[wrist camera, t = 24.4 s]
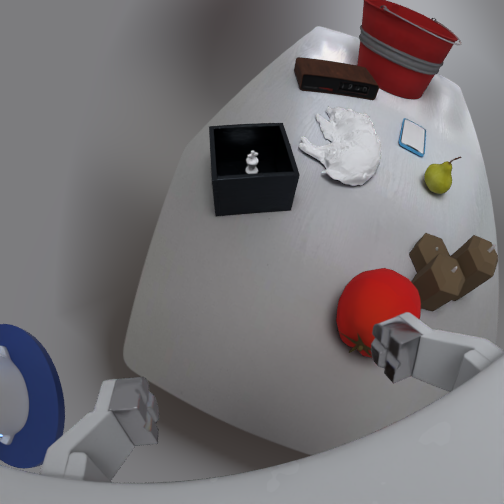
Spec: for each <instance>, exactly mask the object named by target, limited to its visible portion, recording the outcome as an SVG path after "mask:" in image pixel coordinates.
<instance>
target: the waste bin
mask: <svg viewBox="0 0 504 504" xmlns="http://www.w3.org/2000/svg"><path fill="white" fill-rule="evenodd" d="M209 134H210V154H211V172H212V185H213V196H214V206H215V216H224V215H236V214H248V213H261V212H274V211H288V210H291V207H292V203H293V199H294V195H295V191H296V187H297V183H298V179H299V172H298V168H297V165H296V162H295V159H294V156H293V153H292V149H291V146H290V143H289V140H288V137H287V134H286V131H285V128H284V125H283V123H260V124H238V125H222V126H210V127H209ZM253 150H254V152H257V153H258V156H255V157H257V158H258V163H257V165H256V167H257V169H258V172H257V173H256V174H248V173H246V171H245V170H246V167H247V166H248V164H247V162H246V159H247V158H248V157H247V155H249V154H251V151H253Z"/></svg>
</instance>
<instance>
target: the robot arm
mask: <svg viewBox="0 0 504 504" xmlns="http://www.w3.org/2000/svg"><path fill="white" fill-rule="evenodd" d="M372 334H373V336H374V337H375V339H374V340H373V342H372V343H371V354H372V358H373V360H374V362H375V363H376V364H377V366H379V367H382V368H385V370H384V373H385V375H386V376H387V377H388V378H389V379H390V380H391V381H392V382H393V383H396V382H398V381H401V380H403V379H405V378H408V377H410V376H412V377H414V378H416V379H419V380H421V381H424V382H426V383H429V384H431V385H434V386H436V387H439V388H441V389H444V390H446V391H449V393H448V394H446V395H444V396H443V397H441V398H439V399H438V400H436V401H434V402H432V403H431V404H429V405H427V406H425V407H424V408H422V409H420V410H418V411H416V412H414V413H413V414H411V415H409V416H407V417H405V418H403V419H401V420H399V421H397V422H395V423H393V424H391V425H389V426H386V427H384V428H382V429H380V430H378V431H375V432H373V433H371V434H368V435H366V436H364V437H361V438H359V439H356V440H354V441H351V442H349V443H346V444H344V445H341V446H338V447H335V448H333V449H330V450H327V451H324V452H321V453H318V454H315V455H312V456H309V457H305V458H302V459H298V460H295V461H291V462H288V463H284V464H280V465H276V466H272V467H268V468H264V469H259V470H254V471H249V472H245V473H239V474H234V475H228V476H221V477H214V478H207V479H198V480H189V481H178V482H161V483H112V482H111V480H112V478H113V477H114V476H115V474H116V473H117V471H118V470H119V469H120V467H121V466H122V464H123V463H124V462H125V460H126V459H127V457H128V456H129V454H130V453H131V452H132V450H133V449H134V447H135V446H138V445H150V444H158V428H157V426H156V423H157V421H158V420H159V409H158V404H157V401H156V399H155V396H154V394H152V393H150V392H149V383H148V381H147V379H146V378H145V377H136V378H123V379H111V380H104V381H103V383H102V385H101V389H100V391H99V395H98V398H97V401H96V405H95V408H94V411H93V412H89V413H88V414H87V415H86V416H84V417H83V418H82V419H81V420H80V421H79V422H78V423H76V424H75V425H74V426H73V427H72V428H71V429H70V430H68V431H67V432H66V433H65V434H64V435H63V436H61V437H60V438H59V439H58V440H57V441H56V442H55V443H53V444H52V445H51V446H50V447H49V448H48V449H47V452H46V455H45V458H44V462H43V465H42V468H41V472H40V474H36V473H31V472H27V471H22V470H18V469H14V468H10V467H6V466H2V465H0V504H504V351H503V350H502V349H500V348H499V347H498V346H496V345H495V344H494V343H492V342H491V341H489V340H488V339H486V338H480V337H475V336H469V335H464V334H459V333H454V332H449V331H443V330H438V329H435V330H432V329H431V328H430V327H429V326H427V325H426V324H425V323H423V322H422V321H420V320H419V319H418V318H416V317H415V316H414V315H412V314H411V313H409V312H405V313H403V314H400V315H398V316H396V317H394V318H391V319H388V320H385V321H383V322H380V323H377V324H374V327H373V331H372ZM28 412H29V397H28V391H27V387H26V383H25V381H24V378H23V376H22V374H21V372H20V371H19V369H18V368H17V366H16V365H15V364H14V363H13V362H12V360H11V358H10V355H9V352H8V350H7V348H6V347H5V346H0V442H2V443H3V444H6V445H10V444H11V443H12V440H13V438H14V435H15V434H16V433H18V432H19V431H20V430H21V429H22V428H23V427H24V425H25V423H26V421H27V418H28Z"/></svg>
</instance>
